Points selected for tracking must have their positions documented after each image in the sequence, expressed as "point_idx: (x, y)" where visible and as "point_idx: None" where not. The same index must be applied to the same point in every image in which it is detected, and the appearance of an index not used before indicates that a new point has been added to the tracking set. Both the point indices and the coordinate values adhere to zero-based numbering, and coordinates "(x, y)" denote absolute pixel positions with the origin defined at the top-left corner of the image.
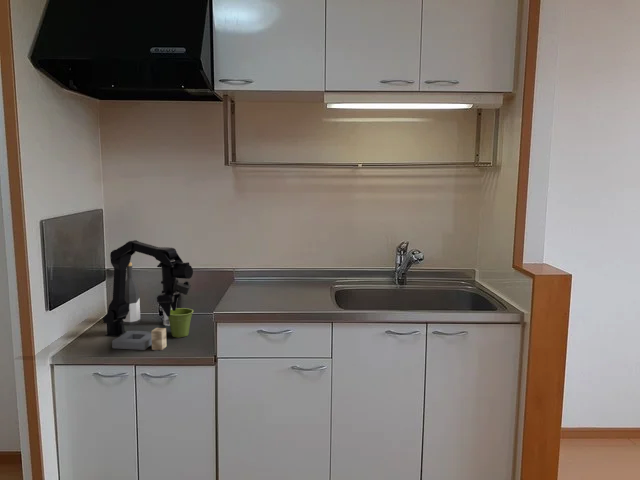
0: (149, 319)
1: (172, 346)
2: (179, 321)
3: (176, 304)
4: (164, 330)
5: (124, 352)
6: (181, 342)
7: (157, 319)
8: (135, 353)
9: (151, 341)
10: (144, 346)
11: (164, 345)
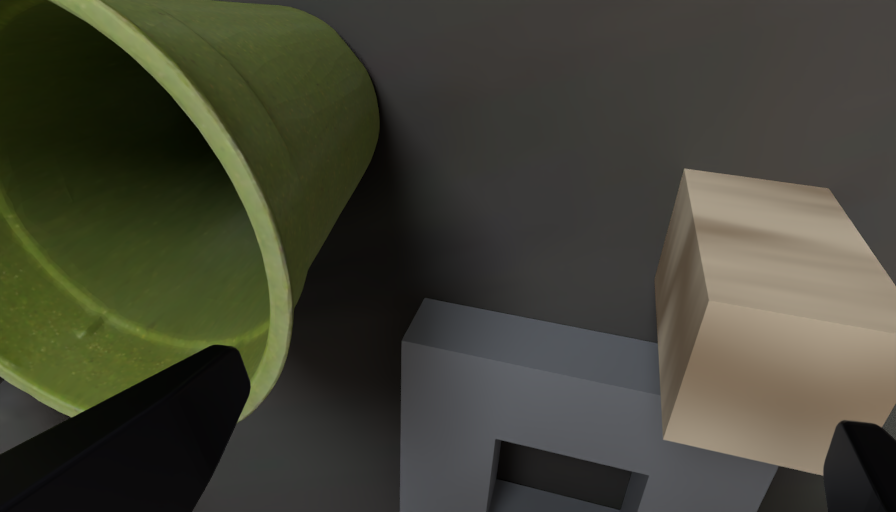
0: (32, 433)
1: (696, 92)
2: (296, 156)
3: (79, 435)
4: (784, 302)
5: (824, 507)
6: (537, 12)
7: (5, 387)
8: (884, 426)
9: (604, 353)
10: None
11: (752, 191)
